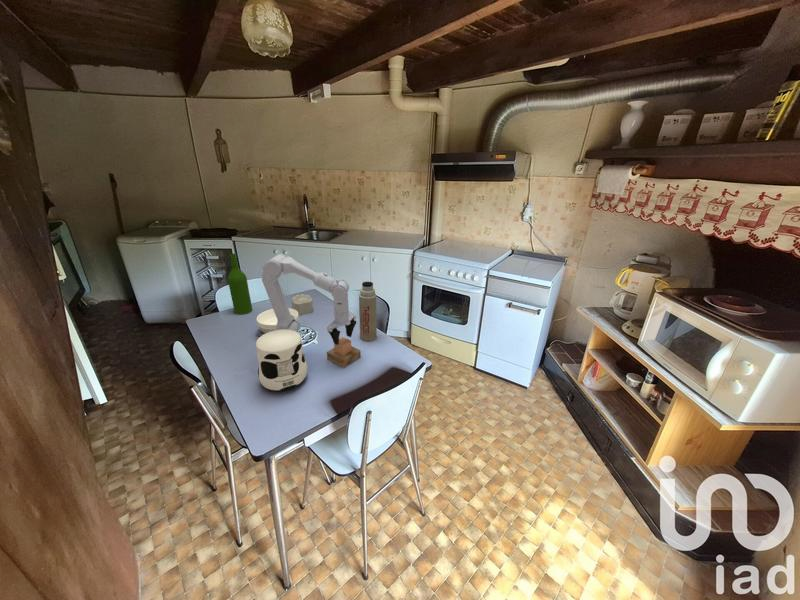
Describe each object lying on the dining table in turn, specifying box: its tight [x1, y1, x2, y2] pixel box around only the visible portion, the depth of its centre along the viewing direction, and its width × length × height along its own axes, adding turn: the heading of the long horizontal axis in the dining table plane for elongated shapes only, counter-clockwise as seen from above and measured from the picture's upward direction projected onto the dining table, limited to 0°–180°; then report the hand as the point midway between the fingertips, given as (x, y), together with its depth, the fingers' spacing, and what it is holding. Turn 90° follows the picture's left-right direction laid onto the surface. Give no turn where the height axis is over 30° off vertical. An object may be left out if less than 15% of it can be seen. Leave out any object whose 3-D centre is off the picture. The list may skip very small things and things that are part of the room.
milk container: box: [255, 329, 308, 392], centre depth 114 cm, size 17×17×18 cm
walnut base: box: [326, 345, 361, 369], centre depth 132 cm, size 10×10×4 cm
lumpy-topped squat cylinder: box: [290, 293, 314, 317], centre depth 173 cm, size 10×13×9 cm
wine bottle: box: [227, 253, 253, 316], centre depth 164 cm, size 9×9×32 cm
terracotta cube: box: [333, 336, 352, 356], centre depth 130 cm, size 5×5×5 cm
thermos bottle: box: [358, 281, 377, 342], centre depth 144 cm, size 8×8×28 cm
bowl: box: [256, 307, 299, 334], centre depth 150 cm, size 19×19×9 cm
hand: (342, 339), depth 129 cm, fingers open, 7 cm apart
